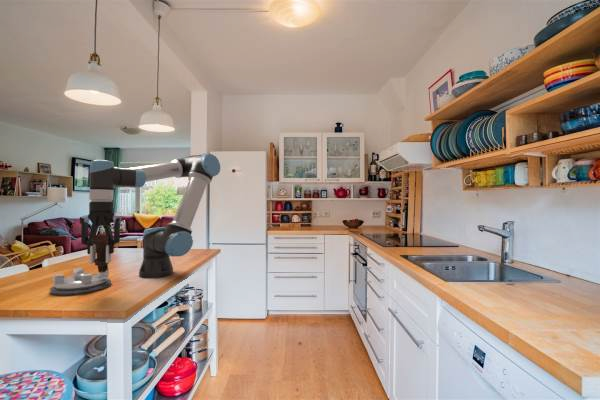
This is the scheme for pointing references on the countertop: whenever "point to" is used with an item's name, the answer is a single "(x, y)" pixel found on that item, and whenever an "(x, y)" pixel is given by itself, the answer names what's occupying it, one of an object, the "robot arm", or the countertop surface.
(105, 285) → the dark round base plate
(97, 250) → the bolt
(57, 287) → the grey round fixture plate
